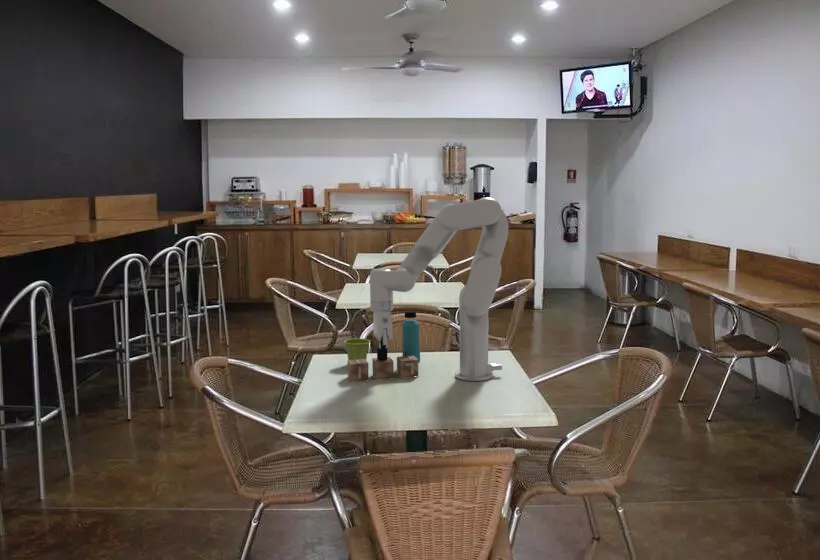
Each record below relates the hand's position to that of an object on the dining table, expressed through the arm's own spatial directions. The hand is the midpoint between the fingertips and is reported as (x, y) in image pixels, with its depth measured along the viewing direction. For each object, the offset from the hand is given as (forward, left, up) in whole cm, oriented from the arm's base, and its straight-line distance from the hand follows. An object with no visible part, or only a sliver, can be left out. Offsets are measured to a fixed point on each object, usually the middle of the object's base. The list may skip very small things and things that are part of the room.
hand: (382, 359), depth 240 cm
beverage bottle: (-13, -11, -6) cm, 18 cm away
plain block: (0, 0, -6) cm, 6 cm away
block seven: (-9, 0, -6) cm, 11 cm away
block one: (+8, 0, -6) cm, 10 cm away
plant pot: (+5, -19, -6) cm, 21 cm away
